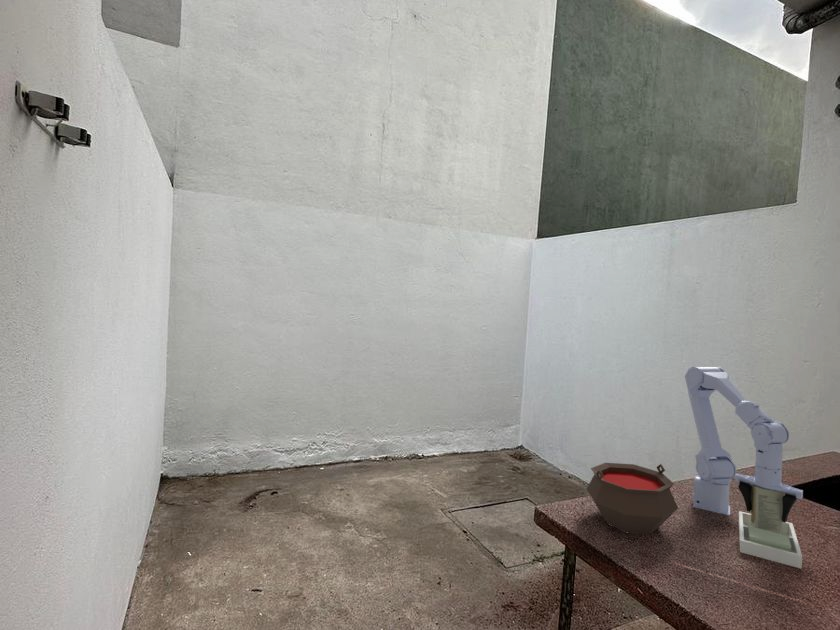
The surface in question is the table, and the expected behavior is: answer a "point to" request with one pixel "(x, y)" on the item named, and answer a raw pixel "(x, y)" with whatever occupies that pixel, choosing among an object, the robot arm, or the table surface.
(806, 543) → the table surface
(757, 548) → the white rectangular tray
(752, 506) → the skincare box
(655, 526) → the brown cauldron
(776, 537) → the pale green block
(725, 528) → the table surface
